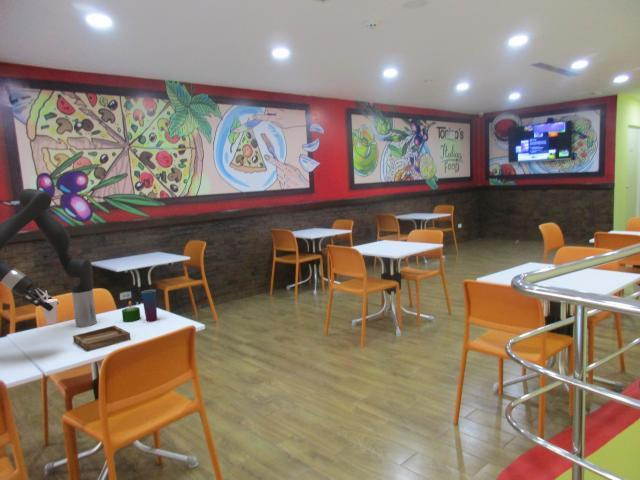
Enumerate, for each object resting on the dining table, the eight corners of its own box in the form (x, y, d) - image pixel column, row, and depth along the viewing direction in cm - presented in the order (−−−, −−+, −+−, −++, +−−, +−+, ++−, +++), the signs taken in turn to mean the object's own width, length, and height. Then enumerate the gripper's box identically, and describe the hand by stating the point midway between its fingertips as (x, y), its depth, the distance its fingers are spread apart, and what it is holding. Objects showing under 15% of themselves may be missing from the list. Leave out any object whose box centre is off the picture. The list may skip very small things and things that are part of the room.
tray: (73, 342, 202) (72, 335, 201) (115, 331, 214) (114, 325, 214) (87, 351, 189) (86, 344, 188) (130, 339, 201) (129, 332, 201)
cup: (154, 322, 225) (151, 292, 223) (141, 322, 226) (138, 293, 225) (161, 318, 232) (158, 289, 230) (149, 318, 233) (146, 289, 231)
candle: (136, 322, 228) (134, 302, 227) (120, 322, 228) (118, 303, 227) (143, 317, 236) (141, 298, 235) (127, 317, 236) (125, 299, 235)
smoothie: (47, 321, 191) (43, 289, 189) (63, 320, 192) (59, 288, 190) (39, 326, 185) (35, 292, 183) (56, 325, 185) (51, 291, 183)
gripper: (17, 278, 177) (55, 304, 181) (31, 271, 190) (65, 296, 195) (4, 293, 176) (42, 319, 180) (18, 285, 190) (53, 309, 194)
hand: (54, 307), depth 188 cm, fingers closed on smoothie, 6 cm apart
